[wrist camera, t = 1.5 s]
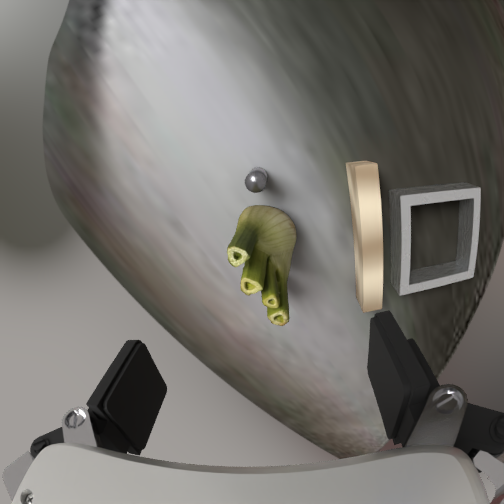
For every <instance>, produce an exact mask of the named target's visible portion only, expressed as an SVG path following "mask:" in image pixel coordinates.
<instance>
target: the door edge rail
mask: <svg viewBox="0 0 504 504" xmlns="http://www.w3.org/2000/svg"><path fill="white" fill-rule="evenodd" d="M346 169H347V176H348V184H349V193H350V202H351V212H352V223H353V236H354V251H355V271H356V298H357V300H358V302H359V304H360V306H361V309H362V311H363V313H364V312H369V311H374V310H379V309H382V296H383V229H382V210H381V196H380V184H379V174H378V165H377V163H373V162H369V161H359V162H350V163H346Z"/></svg>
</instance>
